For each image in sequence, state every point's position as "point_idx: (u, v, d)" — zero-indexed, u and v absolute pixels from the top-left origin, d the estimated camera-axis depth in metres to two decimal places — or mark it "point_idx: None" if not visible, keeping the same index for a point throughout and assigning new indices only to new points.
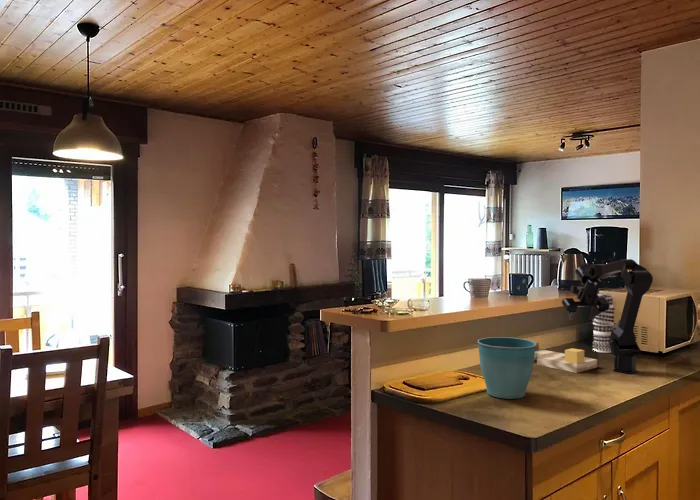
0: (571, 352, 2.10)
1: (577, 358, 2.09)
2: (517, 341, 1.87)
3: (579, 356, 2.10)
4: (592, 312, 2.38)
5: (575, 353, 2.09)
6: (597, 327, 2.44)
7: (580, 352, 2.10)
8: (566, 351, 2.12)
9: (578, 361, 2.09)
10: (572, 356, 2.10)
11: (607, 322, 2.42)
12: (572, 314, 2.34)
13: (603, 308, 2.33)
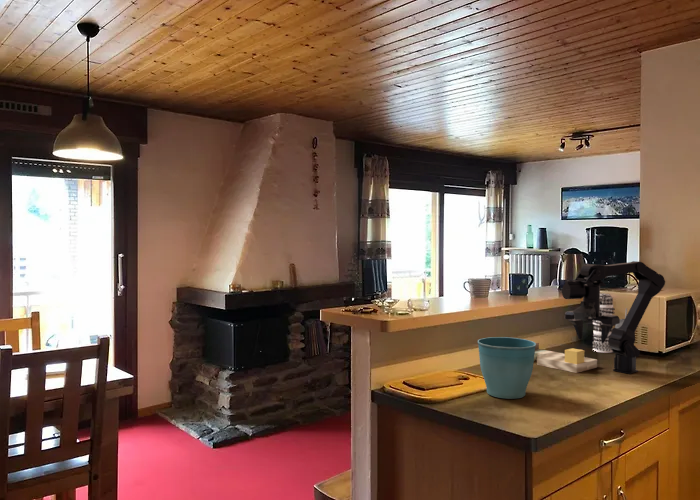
0: (571, 352, 2.10)
1: (577, 358, 2.09)
2: (517, 341, 1.87)
3: (579, 356, 2.10)
4: (579, 329, 2.10)
5: (575, 353, 2.09)
6: (597, 327, 2.44)
7: (580, 352, 2.10)
8: (566, 351, 2.12)
9: (578, 361, 2.09)
10: (572, 356, 2.10)
11: None
12: None
13: None
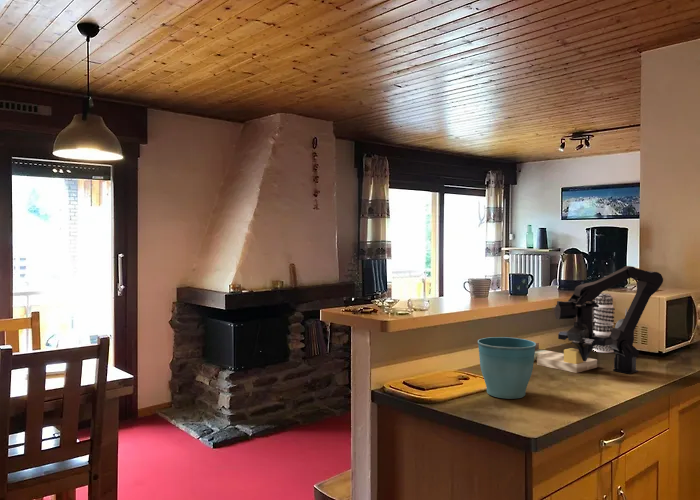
0: (570, 352, 2.10)
1: (576, 358, 2.09)
2: (517, 341, 1.87)
3: (578, 356, 2.10)
4: (583, 351, 2.09)
5: (574, 353, 2.09)
6: (597, 327, 2.44)
7: (579, 352, 2.10)
8: (565, 351, 2.12)
9: (577, 361, 2.09)
10: (571, 356, 2.10)
11: (607, 322, 2.42)
12: None
13: None
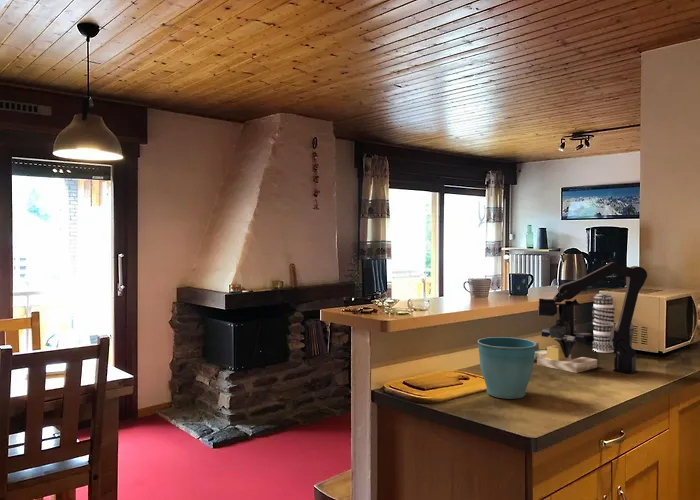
0: (553, 349, 2.16)
1: (558, 355, 2.15)
2: (517, 341, 1.87)
3: (561, 353, 2.16)
4: (565, 348, 2.15)
5: (556, 350, 2.15)
6: (597, 327, 2.44)
7: (561, 349, 2.16)
8: (548, 348, 2.18)
9: (559, 358, 2.15)
10: (554, 353, 2.16)
11: (607, 322, 2.42)
12: None
13: None
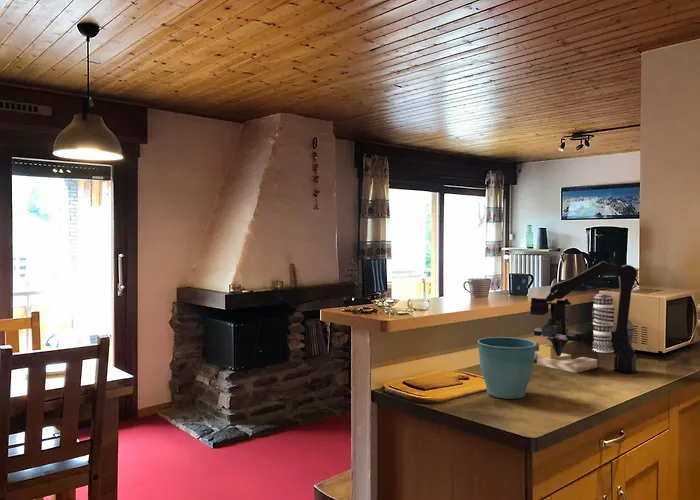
0: (545, 347, 2.19)
1: (551, 353, 2.18)
2: (517, 341, 1.87)
3: (553, 351, 2.19)
4: None
5: (549, 348, 2.18)
6: (597, 327, 2.44)
7: None
8: (540, 346, 2.21)
9: (552, 356, 2.18)
10: (546, 351, 2.19)
11: (607, 322, 2.42)
12: None
13: None
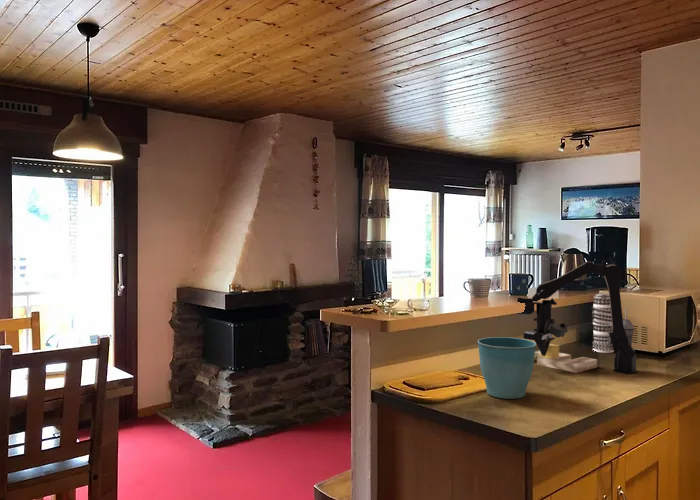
0: None
1: (552, 353, 2.19)
2: (517, 341, 1.87)
3: (554, 351, 2.19)
4: None
5: (550, 348, 2.19)
6: (597, 327, 2.44)
7: (555, 347, 2.20)
8: None
9: (553, 355, 2.19)
10: (547, 351, 2.20)
11: (607, 322, 2.42)
12: None
13: None
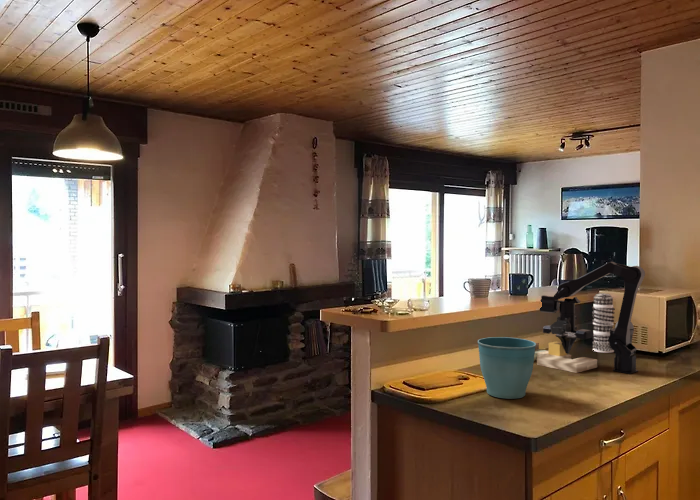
0: (554, 345, 2.24)
1: (560, 350, 2.23)
2: (517, 341, 1.87)
3: (562, 349, 2.24)
4: None
5: (558, 346, 2.23)
6: (597, 327, 2.44)
7: None
8: (550, 344, 2.26)
9: (561, 353, 2.23)
10: (555, 349, 2.24)
11: (607, 322, 2.42)
12: None
13: None
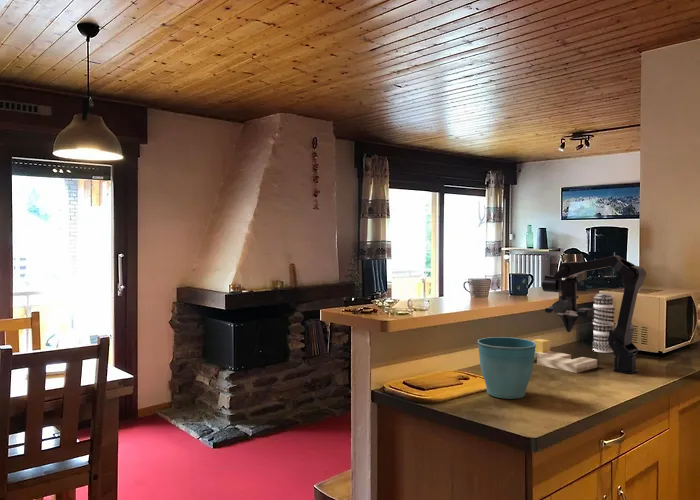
0: (537, 342, 2.31)
1: (543, 347, 2.29)
2: (517, 341, 1.87)
3: (545, 346, 2.30)
4: None
5: (541, 343, 2.29)
6: (597, 327, 2.44)
7: (546, 342, 2.30)
8: (533, 341, 2.32)
9: (544, 350, 2.30)
10: (538, 346, 2.30)
11: (607, 322, 2.42)
12: None
13: None
